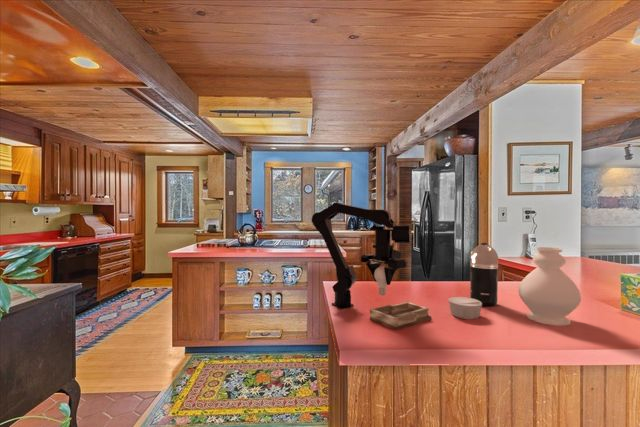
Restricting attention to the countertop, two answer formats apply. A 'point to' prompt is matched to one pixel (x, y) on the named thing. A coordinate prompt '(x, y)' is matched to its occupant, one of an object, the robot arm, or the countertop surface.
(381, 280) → the lightbulb
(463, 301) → the ramekin
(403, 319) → the wooden tray
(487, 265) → the black copper bottle
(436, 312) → the countertop surface
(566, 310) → the decorative vase
